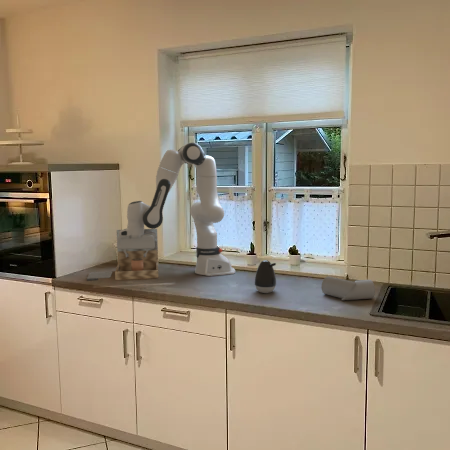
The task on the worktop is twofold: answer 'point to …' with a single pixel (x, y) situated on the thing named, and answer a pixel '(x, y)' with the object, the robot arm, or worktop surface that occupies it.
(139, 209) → the robot arm
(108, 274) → the slate tile
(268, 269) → the pump dispenser
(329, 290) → the bent grey cylinder
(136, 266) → the terracotta pot
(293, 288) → the worktop surface
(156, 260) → the brown patterned open box
